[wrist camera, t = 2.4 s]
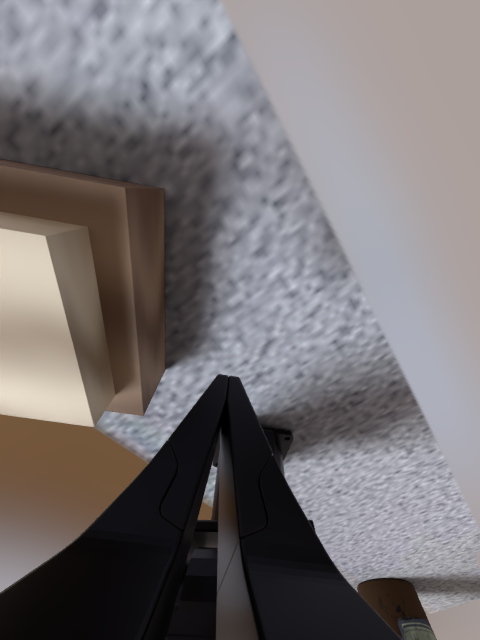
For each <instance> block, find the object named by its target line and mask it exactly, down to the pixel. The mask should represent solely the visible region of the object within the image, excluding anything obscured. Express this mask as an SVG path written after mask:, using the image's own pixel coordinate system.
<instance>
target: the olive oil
mask: <svg viewBox="0 0 480 640" xmlns="http://www.w3.org/2000/svg"><path fill="white" fill-rule="evenodd" d="M357 589H358V593H359V594H360V596H361V597H362V598H363V599H364V600H365V601H366V602H367V603H368V604H369V605H370V606H371V607H372V608H373V609H374V610H375V611H376V612H377V613H378V614H379V615H380V617H381V618H382V619H383V620H384V621H385V622H386V623H387V624H388V625H389V626H390V627H391V628H392V629H393V630H394V631H395V632H396V633H397V634H398V635H399V637H400V638H401V639H402V640H437V639H436V637H435V635H434V632H433V630H432V628H431V626H430V623H429V621H428V619H427V616H426V614H425V612H424V609H423V607H422V605H421V603H420V600H419V598H418V596H417V593H416V591H415V589H414V587H413V585H412V584H411V583H409V582H407V581H403V580H398V579H376V580H370V581H366V582H363V583H361V584H359V585H358V587H357Z"/></svg>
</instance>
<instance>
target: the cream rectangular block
mask: <svg viewBox="0 0 480 640" xmlns="http://www.w3.org/2000/svg"><path fill="white" fill-rule="evenodd" d="M114 396H115V389H114V383H113V377H112V371H111V365H110V359H109V353H108V347H107V341H106V334H105V328H104V322H103V316H102V310H101V304H100V298H99V292H98V286H97V279H96V273H95V267H94V261H93V255H92V249H91V243H90V237H89V231H88V227H86V226H81V225H75V224H69V223H63V222H58V221H52V220H46V219H40V218H34V217H29V216H23V215H17V214H11V213H5V212H0V414H2V415H10V416H17V417H25V418H32V419H39V420H46V421H54V422H62V423H68V424H76V425H83V426H90V427H95V425H96V424H97V422H98V421H99V419H100V418H101V416H102V415H103V413H104V412H105V410H106V408H107V407H108V405H109V404H110V402H111V401H112V399H113V398H114Z"/></svg>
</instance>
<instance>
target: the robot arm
mask: <svg viewBox="0 0 480 640" xmlns="http://www.w3.org/2000/svg"><path fill="white" fill-rule="evenodd" d="M292 441H293V434H292V432H290V431H286V430H279V429H272V428H264V427H261V425H260V423H259V420H258V418H257V416H256V414H255V411H254V409H253V407H252V405H251V402H250V400H249V398H248V396H247V394H246V391H245V389H244V387H243V385H242V382H241V380H240V378H239V377H235V376H229V378H228V375H222V374H219V375H217V377H216V378H215V379H214V380H213V382H212V383H211V384H210V386H209V387H208V388H207V390H206V391H205V392H204V393H203V395H202V396H201V397H200V399H199V400H198V401H197V403H196V404H195V405H194V406H193V408H192V409H191V410H190V412H189V413H188V414H187V415H186V417H185V418H184V419H183V421H182V422H181V423H180V425H179V426H178V427H177V428H176V430H175V431H174V432H173V434H172V435H171V436H170V438H169V439H168V441H166V443H165V444H164V445H163V446H162V448H161V449H160V450H159V452H158V453H157V454H156V455H155V456H154V458H153V459H152V460H151V461H150V463H149V464H148V465H147V466H146V467H145V468H144V469H143V471H142V472H141V473H140V474H139V475H138V476H137V477H136V478H135V479H134V480H133V481H132V483H130V485H129V486H128V487H127V488H126V489H125V490H124V491H123V492H122V493H121V494H120V495H119V496H118V497H117V498H116V499H115V500H114V501H113V502H112V503H111V504H110V505H109V506H108V508H107V509H106V510H105V511H104V512H103V513H102V514H101V515H100V516H99V517H98V518H97V519H96V520H95V521H94V522H93V523H92V524H91V525H90V526H89V527H88V528H87V529H86V530H85V531H84V532H83V533H82V534H81V535H80V536H79V537H78V538H76V539H75V540H74V541H73V542H72V543H71V544H69V545H68V546H67V547H66V548H64V549H63V550H62V551H60V552H59V553H57V554H56V555H55V556H53V557H52V558H50V559H49V560H47V561H46V562H44V563H43V564H41V565H40V566H39V567H37V568H36V569H34V570H33V571H31V572H30V573H28V574H27V575H25V576H24V577H22V578H21V579H20V580H18V581H17V582H15V583H14V584H12V585H11V586H9V587H8V588H6V589H5V590H4V591H2V592H1V593H0V640H402V639H401V638H400V637H399V635H398V634H397V633H396V632H395V631H394V630H393V629H392V628H391V627H390V626H389V625H388V624H387V623H386V622H385V621H384V620H383V619H382V618H381V617H380V615H379V614H378V613H377V612H376V611H375V610H374V609H373V608H372V607H371V606H370V605H369V604H368V603H367V602H366V601H365V600H364V599H363V598H362V597H361V596H360V594H359V593H358V592H357V591H356V590H355V589H354V588H353V587H352V586H351V585H350V584H349V583H348V582H347V580H346V579H345V578H344V577H343V575H342V574H341V573H340V571H339V570H338V569H337V567H336V566H335V565H334V563H333V562H332V560H331V559H330V557H329V555H328V554H327V552H326V550H325V549H324V547H323V545H322V543H321V542H320V540H319V538H318V536H317V535H316V532H315V528H314V524H313V520H308V519H307V517H306V516H305V514H304V512H303V510H302V509H301V507H300V505H299V503H298V502H297V500H296V498H295V496H294V494H293V493H292V491H291V489H290V487H289V485H288V483H287V481H286V479H285V476H284V467H283V460H284V458H285V456H286V454H287V451H288V449H289V447H290V445H291V443H292ZM212 462H213V466H214V467H217V475H216V484H215V492H214V500H213V509H212V517H211V520H197V519H198V515H199V511H200V507H201V504H202V500H203V496H204V492H205V488H206V484H207V481H208V477H209V473H210V469H211V465H212Z"/></svg>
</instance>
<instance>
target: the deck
mask: <svg viewBox="0 0 480 640" xmlns="http://www.w3.org/2000/svg"><path fill="white" fill-rule="evenodd" d="M0 212H5V213H11V214H17V215H23V216H29V217H34V218H40V219H46V220H52V221H58V222H63V223H69V224H75V225H81V226H86V227H88V231H89V237H90V243H91V249H92V255H93V261H94V267H95V273H96V279H97V286H98V292H99V298H100V304H101V310H102V316H103V322H104V328H105V334H106V341H107V347H108V353H109V359H110V365H111V371H112V377H113V383H114V389H115V396H114V398H113V399H112V401H111V402H110V404H109V405H108V407H107V408H106V410H105V411H112V412H119V413H126V414H133V415H141V416H144V414H145V412H146V410H147V407H148V405H149V403H150V401H151V399H152V397H153V395H154V393H155V391H156V389H157V386H158V384H159V382H160V380H161V378H162V376H163V374H164V372H165V248H164V189H162V188H156V187H151V186H145V185H140V184H135V183H129V182H124V181H118V180H113V179H107V178H102V177H96V176H91V175H85V174H80V173H74V172H69V171H63V170H58V169H52V168H47V167H41V166H36V165H30V164H25V163H19V162H14V161H8V160H3V159H0Z"/></svg>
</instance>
